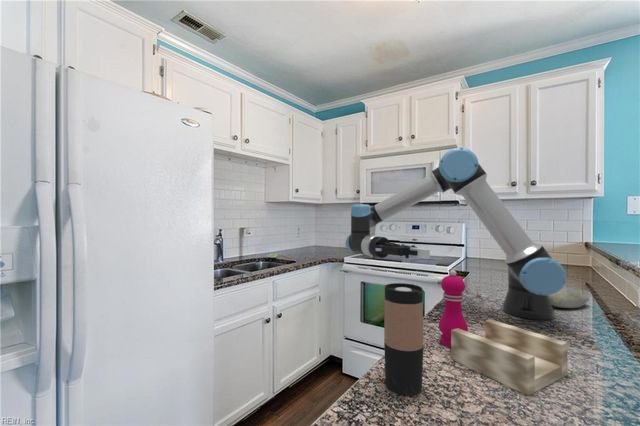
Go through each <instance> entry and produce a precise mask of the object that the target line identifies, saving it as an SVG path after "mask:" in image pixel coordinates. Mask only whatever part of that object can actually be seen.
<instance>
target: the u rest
mask: <svg viewBox="0 0 640 426" xmlns="http://www.w3.org/2000/svg"><path fill="white" fill-rule="evenodd" d="M484 335H485V336H484V337H483V336H480V335H478V334H474V333H472V332H469V331H468V332H467V331H464V330H461V329H459V328H457V329H453V330H451V348H450V352H451V353H450V356H451V357H450V358H451V360H452V361H455V362H456V363H459V364H461V365H463V366H465V367H467V368H469V369H471V370H473V371H475V372H477V373H480V374H481V375H484V376H486V377H488V378H490V379H492V380H494V381H495V382H498V383H501V384H502V385H504V386H507V387H508V388H511V389H512V390H515V391H517V392H520V393H521V394H523V395H524V396H525V395H526V396H528V397H529V396H531V395H533V394H535V393H536V392H538V391H540V390H542V389H543V388H545V387H547V386H549V385H552V384H553V383H555V382H557V381H559V380H561V379H562V378H563V379H564V378H565V377H566V376H568V368H569V367H568V342H566V341H564V340H560V339H556V338H553V337H550V336H547V335H544V334H540V333H537V332H534V331H530V330H527V329H523V328H520V327H517V326H514V325H510V324H507V323H504V322H501V321H498V320H494V319H492V318H491V319H487V320H485V321H484Z"/></svg>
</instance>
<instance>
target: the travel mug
mask: <svg viewBox="0 0 640 426" xmlns="http://www.w3.org/2000/svg"><path fill="white" fill-rule="evenodd" d="M423 291H424V289H423V287H421V286H419V285H417V284H413V283H412V284H411V283H404V282H402V283H400V282H394V283H387V284H386V285H384V319H383V320H384V326H383V328H384V331H383V332H384V333H383V339H384V341H383V343H384V346H383V347H384V370H385V371H384V373H385V376H384V377H385V385H386V387H387V389H389V391H391V392H392V393H394V394H397V395H400V396H407V397H410V396H411V397H412V396H417V395H419V394H420V393H421V392H422V389H423V368H424V367H423V365H424V362H423V361H424V304H423V303H424V302H423V301H424V299H423V298H424V297H423V296H424V295H423Z"/></svg>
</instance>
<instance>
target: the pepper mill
mask: <svg viewBox="0 0 640 426" xmlns="http://www.w3.org/2000/svg"><path fill="white" fill-rule="evenodd" d="M448 274H449V275H446V276H445V277H443V278H442V279H441V281H440V286H441V289H442V298H443V299H444V309H443V312H442V314H441V316H440V319H439V321H438V330H439V331H440V333H441V335H440V343H441V344H442V346H444V347H446V348H450V349H451V330H453V329H457V328H459V329H461V330H464V331H467V332H469V328H468V324H467V321H466V318H465V317H464V314H463V312H462V302H463V301H464V295H463V293H464V291H465V290H466V284H465V283H466V282H465V281H464V280H463V279H462V278H461V277H460V276H457V272H456V270H454V269H451V270H449V273H448Z"/></svg>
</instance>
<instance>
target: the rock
mask: <svg viewBox="0 0 640 426" xmlns="http://www.w3.org/2000/svg"><path fill="white" fill-rule="evenodd" d="M548 297H549V299H550V302H551V306H553V307H555V308H559V309H578V308H580V307H582V306H584V305H586V304H587V303H588V302H589V301H590V298H589V296H588V295H586V294H584V293H581V292H578V291H577V290H573V289H568V288H565V287H563V288H562V289H561V290H560V291H558V292H557V293H555V294H552V295H548Z"/></svg>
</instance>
